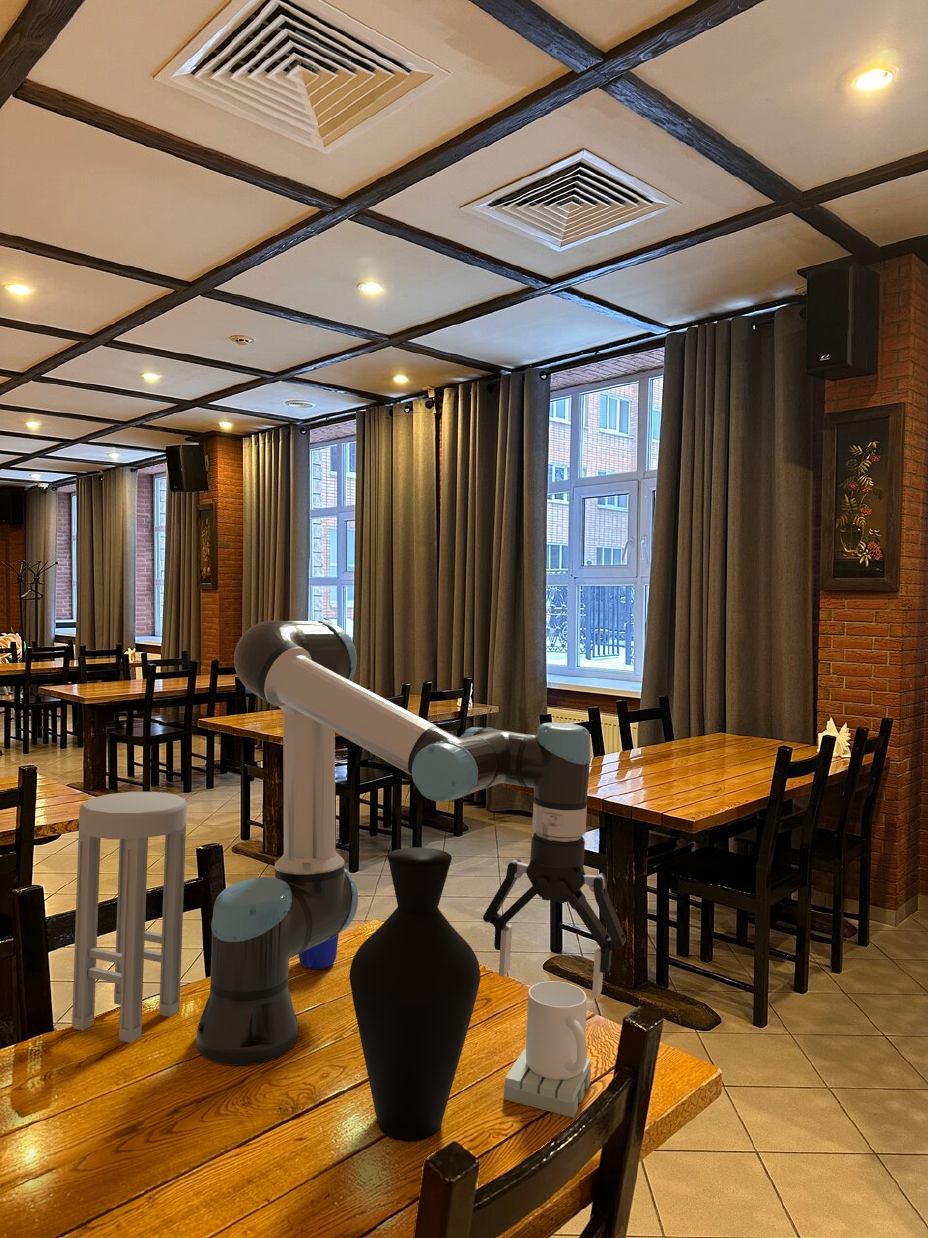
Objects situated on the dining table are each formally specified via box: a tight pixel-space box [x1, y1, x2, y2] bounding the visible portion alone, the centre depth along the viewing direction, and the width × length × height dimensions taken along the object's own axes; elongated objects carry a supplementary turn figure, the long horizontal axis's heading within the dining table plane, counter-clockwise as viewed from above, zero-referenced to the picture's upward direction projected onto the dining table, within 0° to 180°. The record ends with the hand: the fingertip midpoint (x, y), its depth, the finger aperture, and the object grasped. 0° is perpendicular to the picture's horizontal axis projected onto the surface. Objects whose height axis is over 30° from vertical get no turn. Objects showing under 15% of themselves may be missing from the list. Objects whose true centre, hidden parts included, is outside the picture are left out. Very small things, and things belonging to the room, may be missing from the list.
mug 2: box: [525, 980, 588, 1080], centre depth 119 cm, size 12×8×10 cm
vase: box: [348, 847, 481, 1143], centre depth 111 cm, size 17×17×35 cm
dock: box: [503, 1046, 592, 1119], centre depth 120 cm, size 10×10×3 cm
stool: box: [71, 791, 188, 1044], centre depth 135 cm, size 16×16×35 cm
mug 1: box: [298, 933, 340, 970], centre depth 157 cm, size 8×12×10 cm
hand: (549, 983), depth 120 cm, fingers open, 13 cm apart
